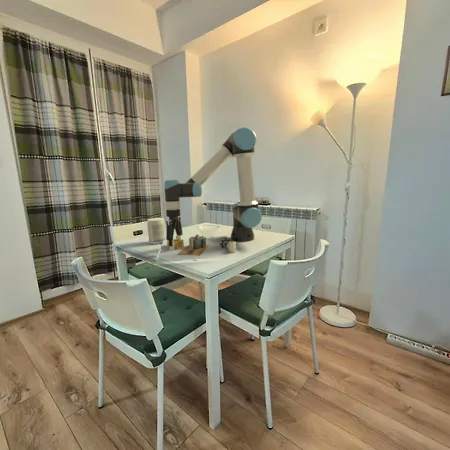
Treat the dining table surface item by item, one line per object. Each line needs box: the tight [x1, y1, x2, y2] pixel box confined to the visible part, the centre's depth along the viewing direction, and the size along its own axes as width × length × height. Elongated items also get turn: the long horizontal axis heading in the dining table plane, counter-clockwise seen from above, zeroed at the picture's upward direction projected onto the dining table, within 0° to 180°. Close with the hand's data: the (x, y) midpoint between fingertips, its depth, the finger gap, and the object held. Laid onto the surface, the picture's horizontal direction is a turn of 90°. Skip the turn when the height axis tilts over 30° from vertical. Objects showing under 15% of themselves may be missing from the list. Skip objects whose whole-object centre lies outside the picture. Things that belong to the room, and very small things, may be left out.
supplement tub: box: [146, 217, 166, 245], centre depth 155 cm, size 10×10×15 cm
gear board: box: [177, 233, 211, 257], centre depth 135 cm, size 12×20×8 cm, turn 168°
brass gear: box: [166, 238, 185, 250], centre depth 140 cm, size 9×9×5 cm
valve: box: [219, 237, 237, 254], centre depth 133 cm, size 7×7×12 cm
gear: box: [188, 235, 207, 249], centre depth 139 cm, size 9×9×5 cm
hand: (175, 249), depth 140 cm, fingers closed on brass gear, 9 cm apart
